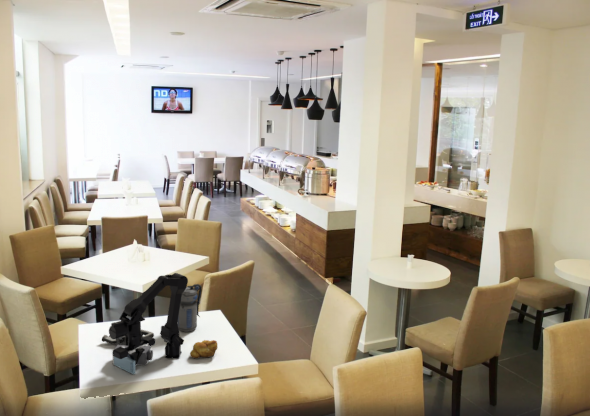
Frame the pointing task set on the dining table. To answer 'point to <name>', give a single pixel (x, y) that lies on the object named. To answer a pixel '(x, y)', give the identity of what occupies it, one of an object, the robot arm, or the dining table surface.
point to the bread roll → (204, 349)
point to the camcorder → (113, 341)
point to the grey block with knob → (144, 357)
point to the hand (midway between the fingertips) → (135, 364)
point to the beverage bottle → (189, 308)
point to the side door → (125, 364)
